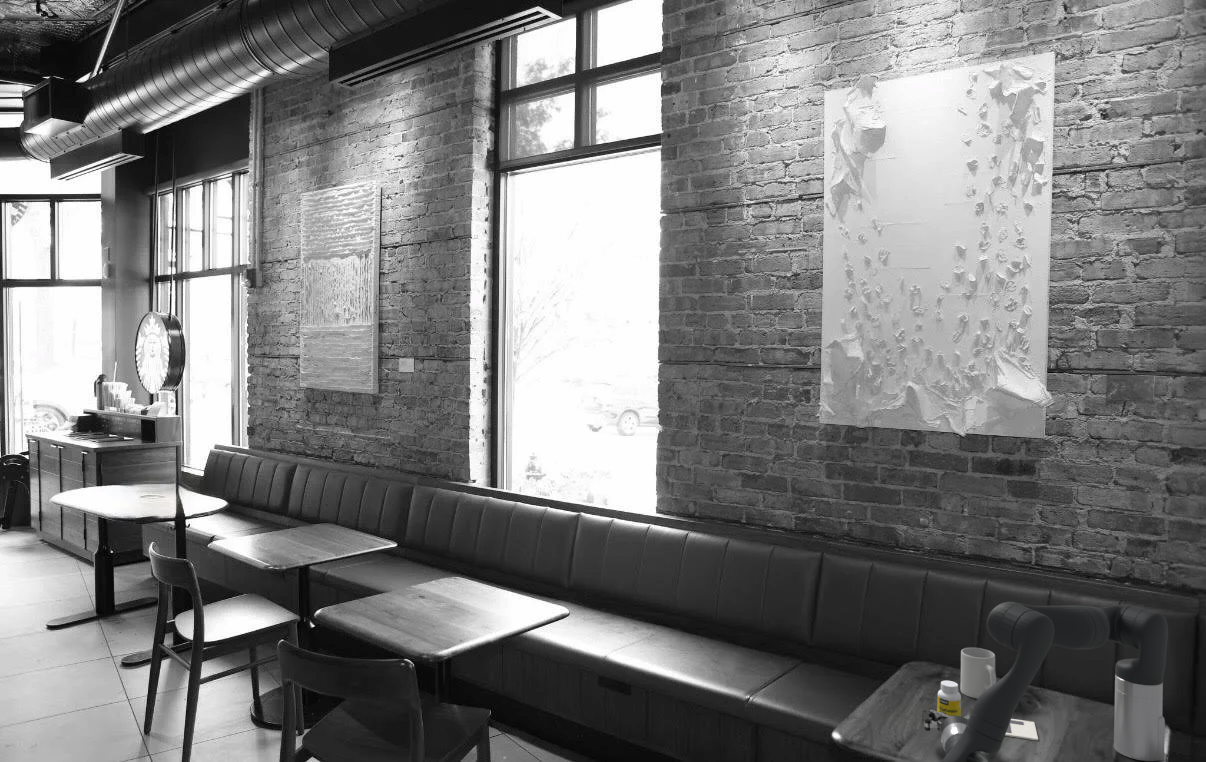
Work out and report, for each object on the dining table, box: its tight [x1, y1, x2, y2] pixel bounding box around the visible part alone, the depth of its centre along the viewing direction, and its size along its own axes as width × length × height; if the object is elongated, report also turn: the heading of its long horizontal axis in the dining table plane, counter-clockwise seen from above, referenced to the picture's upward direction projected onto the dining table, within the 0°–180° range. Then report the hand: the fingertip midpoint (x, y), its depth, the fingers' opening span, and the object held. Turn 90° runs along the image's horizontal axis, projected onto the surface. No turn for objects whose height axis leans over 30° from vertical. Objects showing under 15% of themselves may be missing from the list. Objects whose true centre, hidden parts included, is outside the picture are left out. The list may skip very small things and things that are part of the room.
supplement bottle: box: [936, 680, 962, 717], centre depth 209 cm, size 5×5×10 cm
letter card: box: [1005, 718, 1039, 741], centre depth 207 cm, size 13×10×1 cm
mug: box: [959, 647, 997, 700], centre depth 226 cm, size 12×8×11 cm
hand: (952, 710), depth 202 cm, fingers open, 8 cm apart
